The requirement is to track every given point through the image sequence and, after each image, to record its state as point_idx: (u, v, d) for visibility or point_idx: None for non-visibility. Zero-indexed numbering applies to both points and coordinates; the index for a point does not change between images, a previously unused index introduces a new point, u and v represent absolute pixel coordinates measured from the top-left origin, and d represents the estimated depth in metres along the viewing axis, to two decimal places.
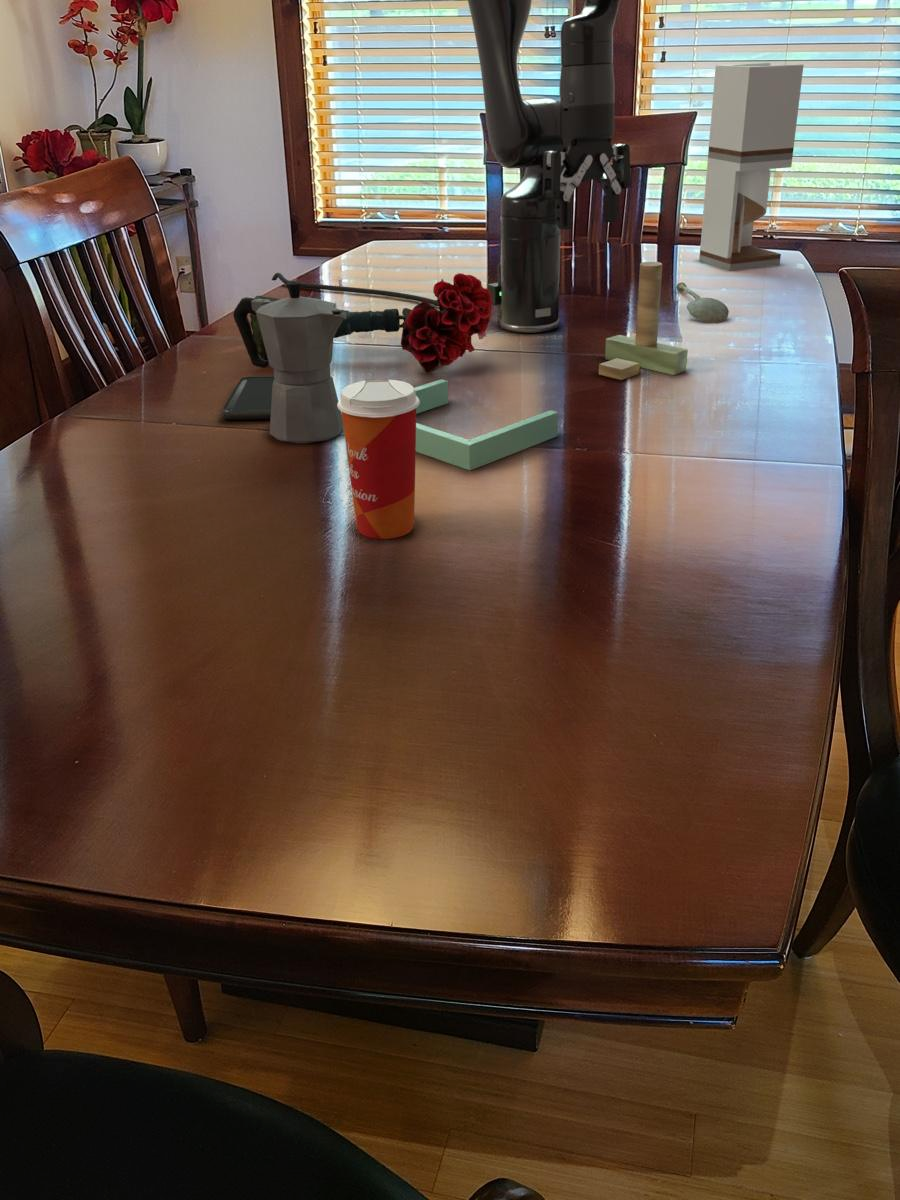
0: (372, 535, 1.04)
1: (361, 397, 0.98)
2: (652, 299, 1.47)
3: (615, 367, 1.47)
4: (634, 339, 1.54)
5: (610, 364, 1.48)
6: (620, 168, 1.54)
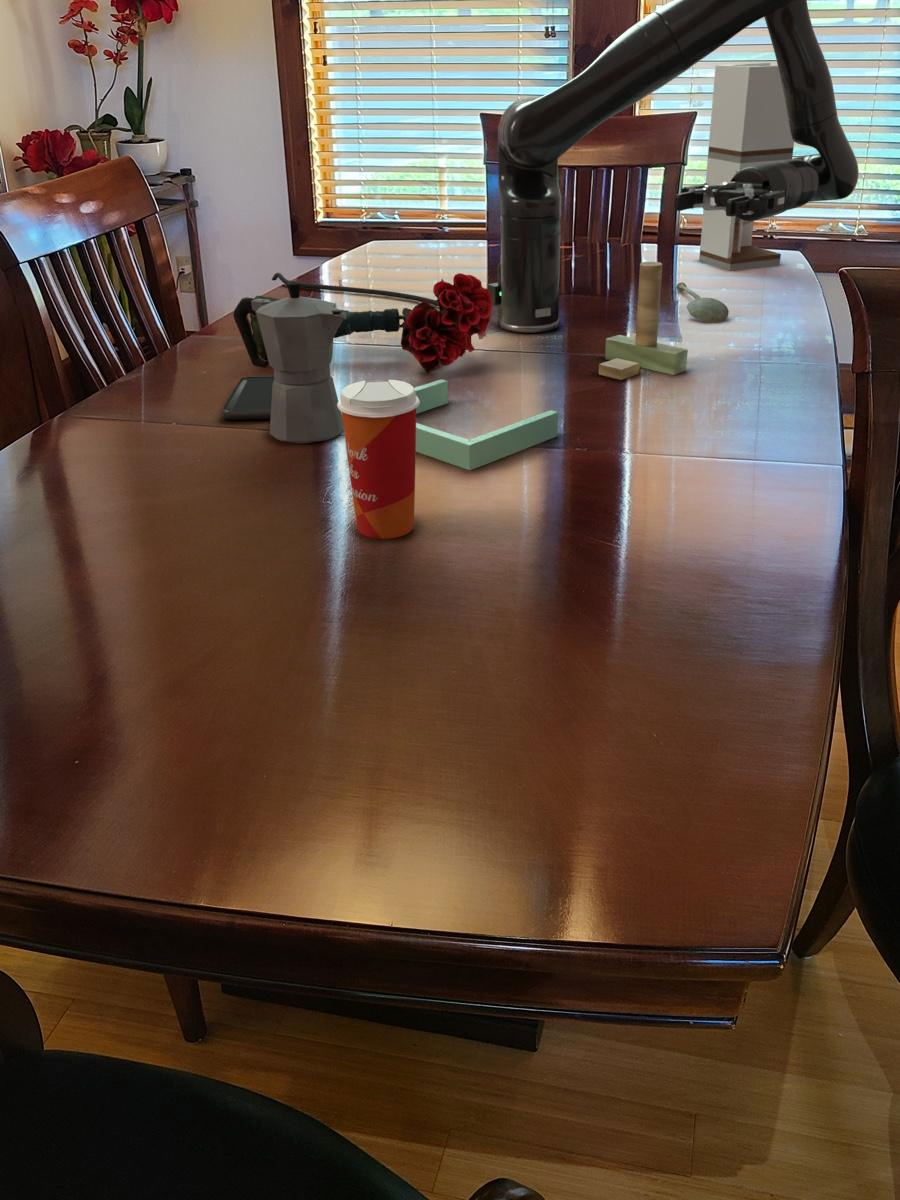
0: (372, 535, 1.04)
1: (361, 397, 0.98)
2: (652, 299, 1.47)
3: (615, 367, 1.47)
4: (634, 339, 1.54)
5: (610, 364, 1.48)
6: (697, 198, 1.58)
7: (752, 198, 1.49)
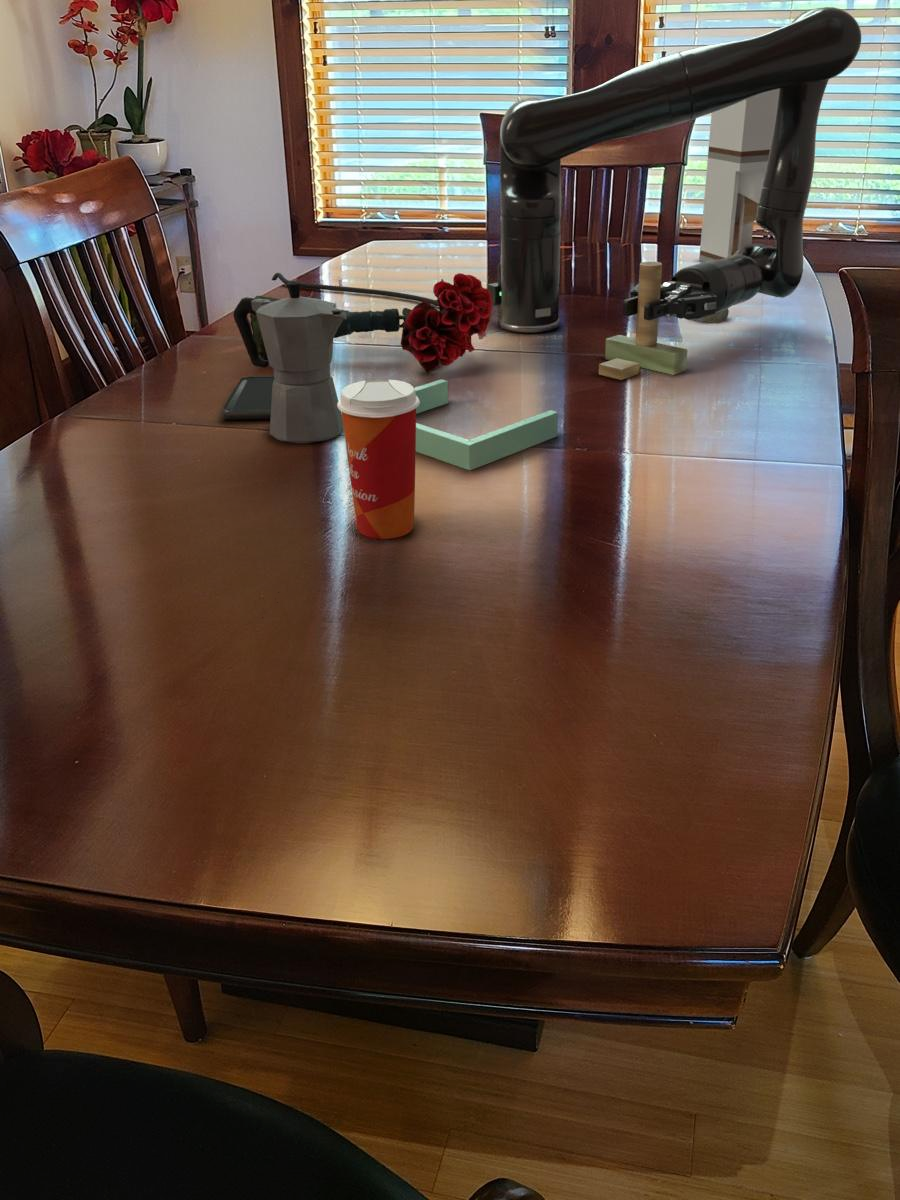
0: (372, 535, 1.04)
1: (361, 397, 0.98)
2: (652, 298, 1.47)
3: (615, 367, 1.47)
4: (634, 339, 1.54)
5: (610, 364, 1.48)
6: None
7: (669, 302, 1.48)
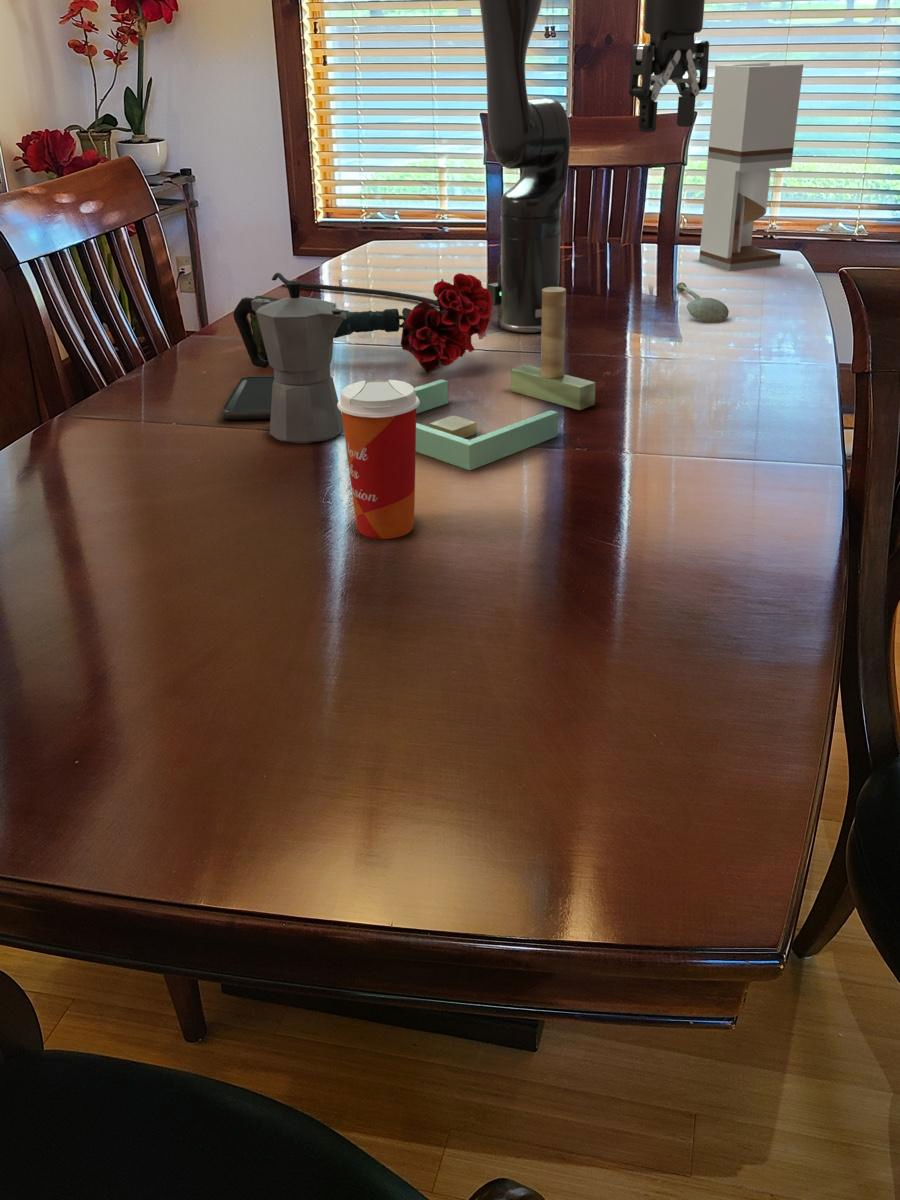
0: (372, 535, 1.04)
1: (361, 397, 0.98)
2: (556, 327, 1.35)
3: (446, 427, 1.27)
4: (541, 370, 1.42)
5: (442, 423, 1.28)
6: (698, 67, 1.45)
7: None
